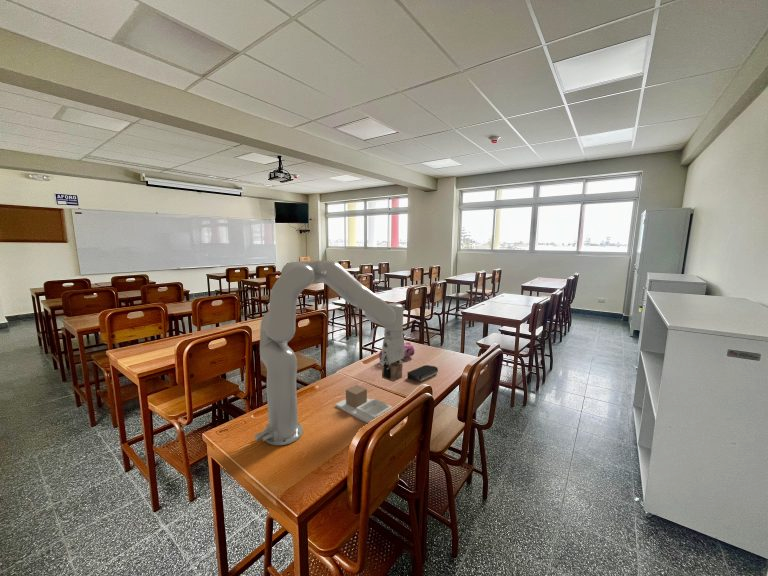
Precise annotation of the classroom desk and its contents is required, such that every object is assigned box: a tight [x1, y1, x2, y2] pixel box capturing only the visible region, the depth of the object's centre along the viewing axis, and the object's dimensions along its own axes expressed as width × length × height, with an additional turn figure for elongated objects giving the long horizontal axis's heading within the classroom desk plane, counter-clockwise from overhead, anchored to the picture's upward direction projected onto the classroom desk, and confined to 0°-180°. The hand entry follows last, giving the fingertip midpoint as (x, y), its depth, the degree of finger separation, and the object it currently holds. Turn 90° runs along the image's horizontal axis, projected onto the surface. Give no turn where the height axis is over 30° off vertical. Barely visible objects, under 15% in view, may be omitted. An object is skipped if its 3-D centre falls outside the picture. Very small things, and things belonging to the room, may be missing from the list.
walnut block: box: [381, 362, 403, 383], centre depth 129 cm, size 6×6×6 cm
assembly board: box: [335, 384, 394, 424], centre depth 122 cm, size 12×22×7 cm, turn 49°
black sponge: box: [406, 364, 439, 382], centre depth 154 cm, size 16×8×4 cm, turn 134°
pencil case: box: [378, 341, 415, 361], centre depth 174 cm, size 21×9×9 cm, turn 132°
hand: (392, 374), depth 129 cm, fingers closed on walnut block, 6 cm apart
